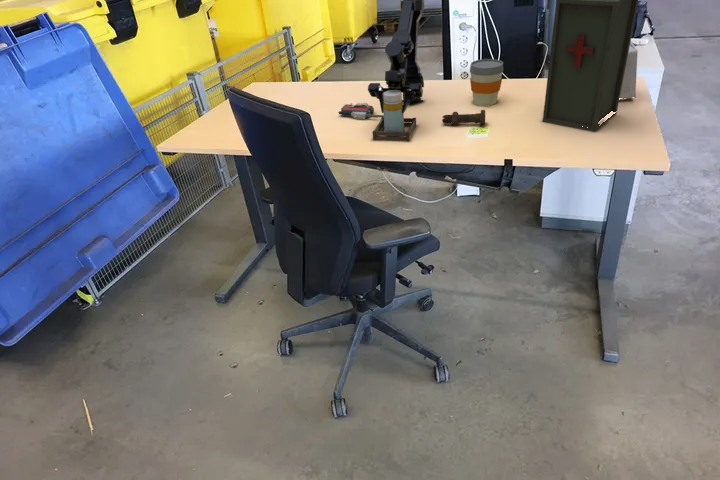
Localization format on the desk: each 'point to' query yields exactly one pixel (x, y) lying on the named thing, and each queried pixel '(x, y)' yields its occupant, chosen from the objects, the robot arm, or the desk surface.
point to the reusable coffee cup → (486, 81)
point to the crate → (395, 136)
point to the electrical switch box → (630, 74)
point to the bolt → (465, 118)
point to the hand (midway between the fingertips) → (392, 112)
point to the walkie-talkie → (358, 111)
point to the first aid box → (587, 61)
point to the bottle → (393, 111)
